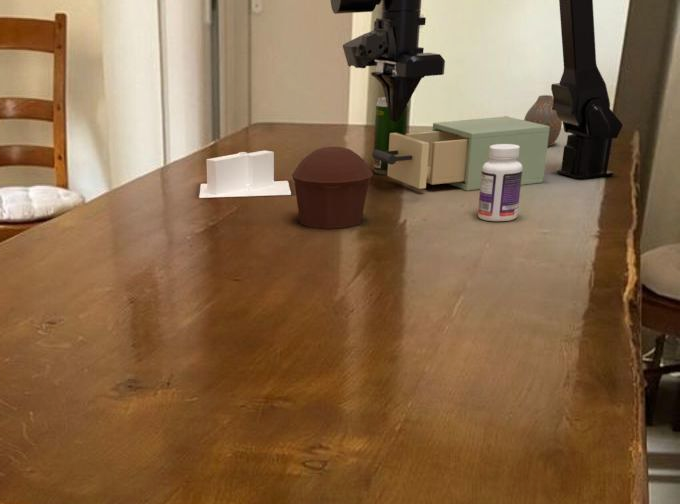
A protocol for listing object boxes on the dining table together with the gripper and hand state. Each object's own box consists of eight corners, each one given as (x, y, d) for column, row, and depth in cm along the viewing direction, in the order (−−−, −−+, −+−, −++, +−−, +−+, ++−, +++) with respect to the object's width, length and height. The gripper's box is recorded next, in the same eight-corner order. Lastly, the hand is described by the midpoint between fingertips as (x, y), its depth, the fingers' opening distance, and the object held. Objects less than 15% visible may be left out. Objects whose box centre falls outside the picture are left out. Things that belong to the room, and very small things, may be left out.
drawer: (394, 191, 157) (397, 145, 153) (363, 178, 166) (365, 135, 163) (490, 181, 160) (495, 136, 157) (455, 169, 170) (458, 126, 167)
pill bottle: (518, 214, 144) (526, 142, 140) (516, 222, 140) (524, 149, 135) (478, 212, 146) (485, 142, 141) (475, 221, 142) (482, 149, 137)
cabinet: (466, 190, 159) (472, 133, 155) (428, 176, 170) (432, 122, 166) (543, 182, 162) (550, 126, 158) (501, 169, 173) (506, 116, 169)
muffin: (378, 228, 140) (382, 154, 135) (299, 233, 140) (300, 158, 135) (359, 210, 151) (362, 140, 146) (286, 214, 150) (286, 144, 145)
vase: (527, 141, 195) (533, 93, 191) (563, 143, 192) (570, 94, 187) (515, 147, 190) (520, 97, 186) (551, 149, 187) (558, 99, 183)
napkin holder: (199, 198, 163) (197, 161, 160) (199, 183, 173) (198, 149, 170) (292, 194, 162) (292, 157, 159) (287, 180, 172) (288, 145, 169)
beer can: (388, 176, 171) (392, 101, 166) (366, 172, 175) (369, 98, 170) (410, 171, 174) (415, 97, 168) (389, 167, 178) (392, 95, 172)
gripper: (326, 11, 156) (323, 117, 163) (378, 16, 140) (372, 134, 148) (392, 7, 158) (386, 112, 166) (450, 11, 143) (441, 127, 150)
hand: (394, 121), depth 157 cm, fingers closed
